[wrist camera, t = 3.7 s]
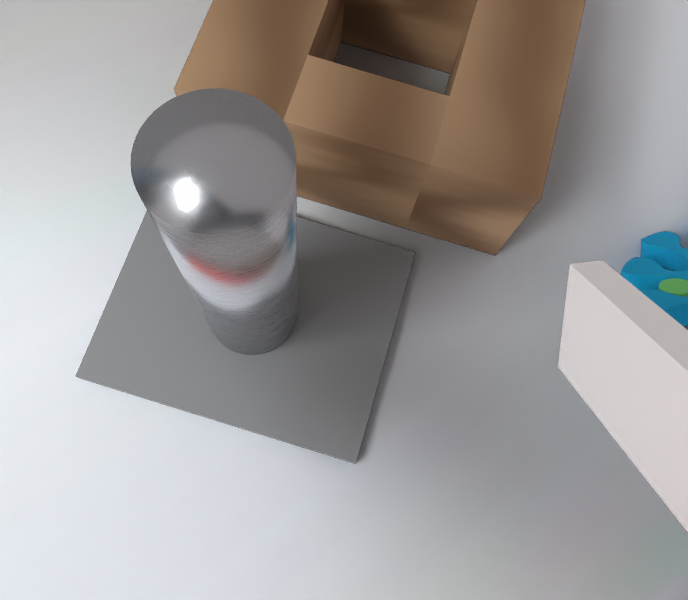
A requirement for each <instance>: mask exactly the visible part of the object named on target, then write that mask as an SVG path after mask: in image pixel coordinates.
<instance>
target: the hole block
mask: <svg viewBox="0 0 688 600" xmlns="http://www.w3.org/2000/svg"><path fill="white" fill-rule="evenodd" d="M584 5H585V0H213V2H212V4H211V7H210V9H209V11H208V13H207V16H206V18H205V20H204V22H203V25H202V27H201V29H200V31H199V33H198V36H197V38H196V40H195V42H194V45H193V47H192V49H191V51H190V54H189V56H188V58H187V60H186V63H185V65H184V67H183V69H182V72H181V74H180V76H179V78H178V81H177V83H176V85H175V87H174V90H175V93H176V97H177V96H179V95H182V94H185V93H188V92H191V91H195V90H200V89H209V88H222V89H230V90H235V91H239V92H243V93H246V94H248V95H251V96H253V97H255V98H257V99H259V100H261V101H262V102H264V103H265V104H267V105H268V106H269V107H271V108H272V109H273V110H274V111H275V112H276V113H277V114H278V115H279V116H280V117H281V119H282V120H283V121H284V123H285V124H286V126H287V127H288V129H289V132H290V134H291V136H292V139H293V142H294V145H295V152H296V195H297V196H299V197H302V198H305V199H309V200H312V201H315V202H319V203H322V204H325V205H329V206H332V207H335V208H339V209H342V210H345V211H349V212H352V213H355V214H359V215H362V216H365V217H369V218H372V219H375V220H379V221H382V222H385V223H389V224H392V225H395V226H399V227H402V228H405V229H409V230H412V231H415V232H419V233H422V234H425V235H429V236H432V237H435V238H439V239H442V240H445V241H449V242H452V243H455V244H459V245H462V246H465V247H469V248H472V249H475V250H479V251H482V252H485V253H489V254H492V255H496V254H497V253H498V251H499V250H500V249H501V248H502V246H503V245H504V244H505V243H506V241H507V240H508V239H509V238H510V236H511V235H512V234H513V233H514V231H515V230H516V229H517V228H518V226H519V225H520V224H521V223H522V221H523V220H524V219H525V218H526V216H527V215H528V214H529V212H530V211H531V210H532V209H533V207H534V206H535V205H536V204H537V202H538V201H539V200H540V199H541V197H542V193H543V188H544V184H545V179H546V175H547V170H548V166H549V161H550V157H551V152H552V148H553V143H554V139H555V134H556V130H557V126H558V121H559V117H560V112H561V108H562V103H563V99H564V94H565V90H566V85H567V81H568V76H569V72H570V67H571V63H572V59H573V54H574V50H575V45H576V41H577V36H578V32H579V27H580V23H581V18H582V14H583V9H584ZM341 42H344V43H348V44H351V45H355V46H358V47H361V48H365V49H368V50H372V51H375V52H378V53H382V54H385V55H389V56H392V57H396V58H399V59H402V60H406V61H409V62H413V63H416V64H419V65H423V66H426V67H430V68H433V69H437V70H440V71H443V72H447V73H450V77H449V81H448V84H447V87H446V91H445V94H444V95H443V94H440V93H437V92H433V91H430V90H426V89H423V88H420V87H416V86H413V85H409V84H406V83H403V82H399V81H396V80H392V79H389V78H386V77H382V76H379V75H375V74H372V73H369V72H365V71H362V70H358V69H355V68H352V67H348V66H345V65H341V64H338V63H334V60H335V57H336V54H337V51H338V49H339V46H340V43H341Z"/></svg>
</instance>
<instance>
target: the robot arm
mask: <svg viewBox="0 0 688 600" xmlns="http://www.w3.org/2000/svg"><path fill="white" fill-rule="evenodd" d="M558 368H559V369H560V370H561V372H562V373H563V374H564V376H565V377H566V378H567V379H568V381H569V382H570V383H571V384H572V386H573V387H574V388H575V390H576V391H577V392H578V393H579V395H580V396H581V397H582V398H583V400H584V401H585V402H586V404H587V405H588V406H589V407H590V409H591V410H592V411H593V412H594V414H595V415H596V416H597V418H598V419H599V420H600V421H601V423H602V424H603V425H604V426H605V428H606V429H607V430H608V432H609V433H610V434H611V435H612V437H613V438H614V439H615V440H616V442H617V443H618V444H619V446H620V447H621V448H622V449H623V451H624V452H625V453H626V454H627V456H628V457H629V458H630V459H631V461H632V462H633V463H634V465H635V466H636V467H637V468H638V470H639V471H640V472H641V473H642V475H643V476H644V477H645V479H646V480H647V481H648V482H649V484H650V485H651V486H652V487H653V489H654V490H655V491H656V493H657V494H658V495H659V496H660V498H661V499H662V500H663V501H664V503H665V504H666V505H667V507H668V508H669V509H670V510H671V512H672V513H673V514H674V515H675V517H676V518H677V519H678V521H679V522H680V523H681V524H682V526H683V527H684V528H685V529H686V531H687V532H688V330H687V329H686V328H684V327H683V326H682V325H681V324H680V323H678V322H677V321H676V320H675V319H674V318H672V317H671V316H670V315H669V314H667V313H666V312H665V311H664V310H663V309H661V308H660V307H659V306H658V305H656V304H655V303H654V302H653V301H652V300H650V299H649V298H648V297H647V296H646V295H644V294H643V293H642V292H641V291H639V290H638V289H637V288H636V287H635V286H633V285H632V284H631V283H630V282H629V281H627V280H626V279H625V278H624V277H622V276H621V275H620V274H619V273H618V272H616V271H615V270H614V269H613V268H611V267H610V266H609V265H608V264H607V263H605V262H604V261H603V260H599V261H591V262H582V263H573V264H570V267H569V276H568V284H567V293H566V301H565V310H564V318H563V327H562V335H561V344H560V352H559V361H558Z"/></svg>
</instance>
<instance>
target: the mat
mask: <svg viewBox="0 0 688 600" xmlns="http://www.w3.org/2000/svg"><path fill="white" fill-rule="evenodd" d="M414 256H415V252H413V251H410V250H406V249H403V248H400V247H396V246H393V245H390V244H386V243H383V242H380V241H376V240H373V239H370V238H366V237H363V236H360V235H356V234H353V233H350V232H346V231H343V230H340V229H336V228H333V227H330V226H326V225H323V224H320V223H316V222H313V221H310V220H306V219H303V218H300V217H297V268H298V318H297V323H296V326H295V328H294V330H293V332H292V334H291V335H290V337H289V338H288V339H287V340H286V341H285V342H284V343H283V344H282V345H281V346H279V347H278V348H276V349H274V350H273V351H270V352H268V353H264V354H259V355H244V354H240V353H237V352H234V351H232V350H230V349H228V348H227V347H225V346H224V345H223V344H222V343H221V342H220V341H219V340H218V339H217V338H216V337H215V335H214V333H213V332H212V330H211V328H210V326H209V324H208V322H207V320H206V319H205V317H204V315H203V313H202V311H201V309H200V307H199V306H198V304H197V302H196V300H195V298H194V296H193V294H192V292H191V291H190V289H189V287H188V285H187V283H186V281H185V279H184V278H183V276H182V274H181V272H180V270H179V268H178V266H177V265H176V263H175V261H174V259H173V257H172V255H171V253H170V252H169V250H168V248H167V246H166V244H165V242H164V240H163V239H162V237H161V235H160V233H159V231H158V229H157V227H156V225H155V224H154V222H153V220H152V218H151V216H150V214H149V212H148V211H147V212H146V214H145V216H144V219H143V221H142V223H141V226H140V228H139V230H138V233H137V235H136V237H135V240H134V242H133V244H132V246H131V249H130V251H129V253H128V256H127V258H126V260H125V263H124V265H123V267H122V270H121V272H120V274H119V277H118V279H117V281H116V284H115V286H114V288H113V290H112V293H111V295H110V297H109V300H108V302H107V304H106V307H105V309H104V311H103V314H102V316H101V318H100V321H99V323H98V325H97V328H96V330H95V332H94V334H93V337H92V339H91V341H90V344H89V346H88V348H87V351H86V353H85V355H84V358H83V360H82V362H81V365H80V367H79V369H78V372H77V374H76V377H78V378H80V379H84V380H87V381H90V382H93V383H97V384H100V385H103V386H106V387H109V388H113V389H116V390H119V391H122V392H126V393H129V394H132V395H135V396H139V397H142V398H145V399H148V400H151V401H155V402H158V403H161V404H164V405H168V406H171V407H174V408H177V409H180V410H184V411H187V412H190V413H193V414H197V415H200V416H203V417H206V418H209V419H213V420H216V421H219V422H222V423H226V424H229V425H232V426H235V427H238V428H242V429H245V430H248V431H251V432H255V433H258V434H261V435H264V436H268V437H271V438H274V439H277V440H280V441H284V442H287V443H290V444H293V445H297V446H300V447H303V448H306V449H309V450H313V451H316V452H319V453H322V454H326V455H329V456H332V457H335V458H338V459H342V460H345V461H348V462H351V463H356V461H357V457H358V454H359V450H360V447H361V443H362V440H363V436H364V433H365V429H366V426H367V422H368V418H369V415H370V411H371V408H372V404H373V401H374V397H375V394H376V390H377V387H378V383H379V380H380V376H381V373H382V369H383V365H384V362H385V358H386V355H387V351H388V348H389V344H390V341H391V337H392V334H393V330H394V327H395V323H396V319H397V316H398V312H399V309H400V305H401V302H402V298H403V295H404V291H405V288H406V284H407V281H408V277H409V274H410V270H411V266H412V263H413V259H414Z"/></svg>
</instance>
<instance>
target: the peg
mask: <svg viewBox="0 0 688 600" xmlns="http://www.w3.org/2000/svg"><path fill="white" fill-rule="evenodd" d="M131 173H132V177H133V182H134V185H135V187H136V190H137V192H138V194H139V196H140V198H141V199H142V201H143V203H144V205H145V207H146V209H147V211H148V212H149V214H150V216H151V218H152V220H153V222H154V224H155V225H156V227H157V229H158V231H159V233H160V235H161V237H162V239H163V240H164V242H165V244H166V246H167V248H168V250H169V252H170V253H171V255H172V257H173V259H174V261H175V263H176V265H177V266H178V268H179V270H180V272H181V274H182V276H183V278H184V279H185V281H186V283H187V285H188V287H189V289H190V291H191V292H192V294H193V296H194V298H195V300H196V302H197V304H198V306H199V307H200V309H201V311H202V313H203V315H204V317H205V319H206V320H207V322H208V324H209V326H210V328H211V330H212V332H213V333H214V335H215V337H216V338H217V339H218V340H219V341H220V342H221V343H222V344H223V345H224V346H225V347H227V348H228V349H230V350H232V351H234V352H237V353H240V354H244V355H259V354H264V353H268V352H270V351H273V350H274V349H276V348H278V347H279V346H281V345H282V344H283V343H284V342H285V341H286V340H287V339H288V338H289V337H290V335H291V334H292V332H293V330H294V328H295V326H296V323H297V318H298V268H297V195H296V152H295V145H294V142H293V139H292V136H291V134H290V132H289V129H288V127H287V126H286V124H285V123H284V121H283V120H282V119H281V117H280V116H279V115H278V114H277V113H276V112H275V111H274V110H273V109H272V108H271V107H269V106H268V105H267V104H265V103H264V102H262V101H261V100H259V99H257V98H255V97H253V96H251V95H248V94H246V93H243V92H239V91H235V90H230V89H222V88H209V89H200V90H195V91H191V92H188V93H185V94H182V95H179V96H177V97H175V98H173V99H171V100H169V101H168V102H166V103H165V104H163V105H162V106H160V107H159V108H158V109H157V110H155V111H154V112H153V113H152V114H151V115H150V116H149V117H148V119H147V120H146V121H145V123H144V124H143V125H142V127H141V129H140V130H139V132H138V134H137V136H136V139H135V142H134V144H133V149H132V153H131Z"/></svg>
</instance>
